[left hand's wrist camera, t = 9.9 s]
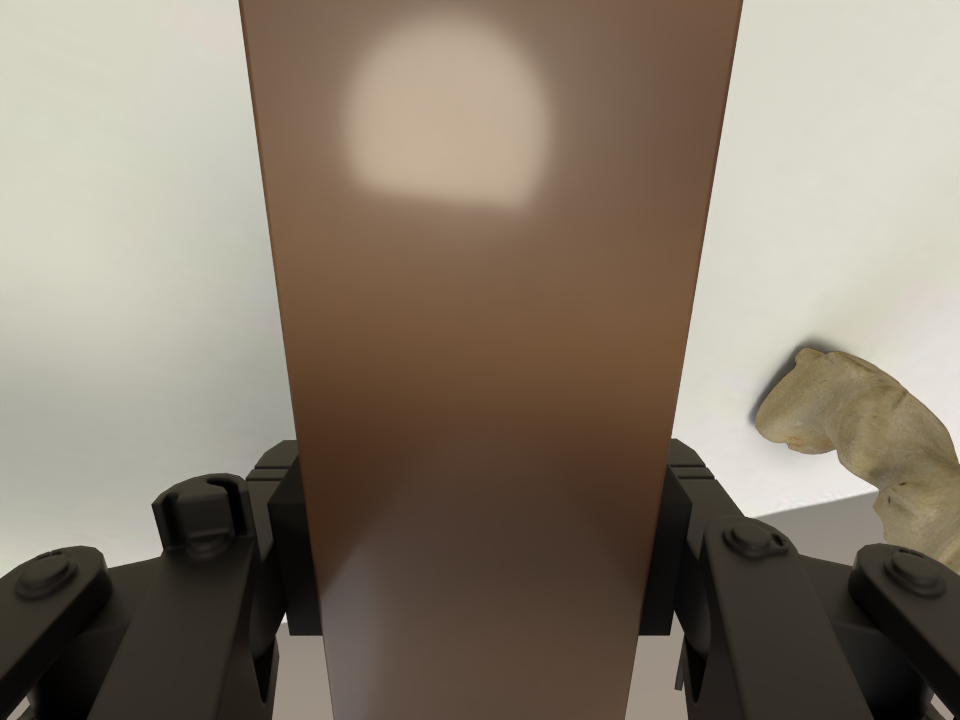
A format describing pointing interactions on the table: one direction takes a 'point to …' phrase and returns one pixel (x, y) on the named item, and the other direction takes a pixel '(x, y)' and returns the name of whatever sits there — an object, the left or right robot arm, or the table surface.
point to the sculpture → (874, 445)
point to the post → (485, 327)
